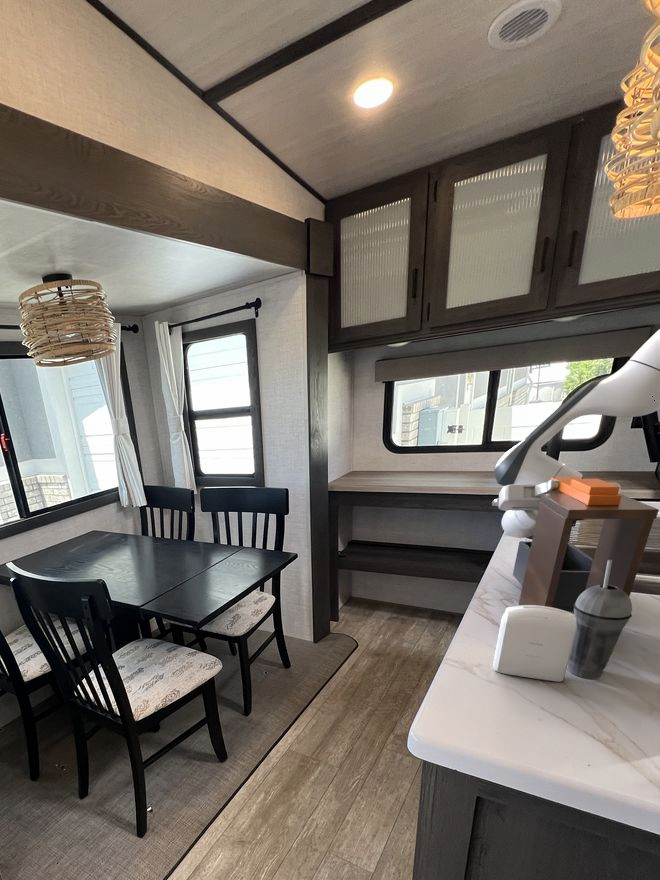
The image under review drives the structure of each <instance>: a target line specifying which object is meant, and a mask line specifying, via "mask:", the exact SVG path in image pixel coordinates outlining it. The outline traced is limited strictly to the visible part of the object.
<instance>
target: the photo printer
mask: <svg viewBox="0 0 660 880" xmlns="http://www.w3.org/2000/svg"><path fill="white" fill-rule="evenodd" d="M498 630H499V631H498V635H497V641H496V647H495V651H494V656H493V657H494V658H493V662H492V668H493V670H494V671H495V672H496V673H499V674H505V675H511V676H517V677H523V678H530V679H537V680H542V681H549V682H560V683H561V682H562V681H563V680H564V679H565V676H566V672H567V670H568V669H567V667H568V661H569V658H570V654H571V650H572V646H573V642H574V638H575V634H576V631H577V623H576V617H575V614H574V613H572V612H571V611H564V610H561V609H557V608H552V607H546V606H536V605H523V606H518V605H515V606H509V607H506V608H505V611H504V613H503V615H502V617H501V619H500V625H499V629H498Z"/></svg>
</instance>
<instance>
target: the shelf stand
mask: <svg viewBox="0 0 660 880" xmlns="http://www.w3.org/2000/svg"><path fill="white" fill-rule="evenodd" d="M618 494H619V493H618ZM619 495H622V497H621V501H620V504H619V505H586V504H585V503H583V502H581V501H579V500H577V499H575V498H573V497H571V496H569V495H567V494H541V497H540V502H541V503H540V507H539V511H538V516H537V521H536V525H535V530H534V535H532V544H531V549H530V553H529V558H528V563H527V567H526V572H525V576H524V581H523V586H522V585H521V591H520V596H519V599H518V604H517V606H523V605H536V606H546V607H552V606H553V601H554V597H555V593H556V589H557V585H558V581H559V577H560V573H561V569H562V565H563V561H564V557H565V553H566V549H567V545H568V542H570V536H571V534H572V533H571V532H572V528H573V524H574V522H575V521H574V519H587V520H595V519H596V520H602V519H603V523H602V528H601V531H600V534H599V538H598V541H597V545H596V549H595V552H594V557H593V558H592V559H593V563H592V567H591V570H590V574H589V578H588V581H587V585H586V589H585V590H587V589H588V588H590V587H593V586H596V585H603V584H604V579H605V573H606V568H607V562H608V560H612V564H611V570H610V575H609V581H608V585H612V586H615V587H618V588H620V589H621V590H623V591H624V592H625V593H626V594H627V595H628V596H629V597H631V593H632V590H633V586H634V584H635V580H636V577H637V574H638V571H639V569H640V565H641V561H642V560H643V559H642V558H643V555H644V552H645V549H646V546H647V543H648V539H649V537H650V533H651V530H652V527H653V525H654V524H653V523H654V520H656V519H657V518H658V514H659V510H660V509H659V508H657V507H653V506H651V505H650V504H646V503H644V502H641V501H639V500H636V499H634V498H631V497H629V496H626V495H624V494H622V493H621V494H619Z"/></svg>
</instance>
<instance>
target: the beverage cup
mask: <svg viewBox="0 0 660 880" xmlns="http://www.w3.org/2000/svg"><path fill="white" fill-rule="evenodd" d="M611 564H612V560H608V562H607V568H606V573H605V579H604V584H603V585H596V586H593V587H590V588H588V589H587V590H585V591H584V592H583V593H581V594H580V596H579V597H578V598H577V600H576V603H575V604H574V611H573V614H575V617H576V623H577V631H576V634H575V638H574V642H573V646H572V650H571V654H570V658H569V661H568V665H567V669H566V670H567V671H568V672H569V673H570V674H572V675H573V676H575V677H579V678H583V679H586V680H587V679H588V680H596V679H600V677H601V676H602V673H603V672H604V670H605V669H606V667H607V665H608V662H609V660H610V658H611V656H612V654H613V651H614V649H615V647H616V645H617V642H618V641H619V638H620V636H621V634H622V631H623V630H624V628H625V627H626V626H627V624H628V622H629V621H630V619H631V618H632V617H633V613H632V612H633V605H632V601H631V598H630V596H628V595H627V594H626V593H625V592H624V591H623V590H621V589H620V588H618V587H615V586H612V585H608V581H609V575H610V570H611Z"/></svg>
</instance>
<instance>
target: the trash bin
mask: <svg viewBox="0 0 660 880" xmlns="http://www.w3.org/2000/svg"><path fill="white" fill-rule="evenodd" d="M531 544H532V541H531V540H530V541H527V540H525V541H523V540H519V541H518V547H517V552H516V556H515V561H514V562H515V563H514V565H513V566H514V567H513V572H512V575H513V577H514V578H515V579H516V580H517V581H518V582H519V584H520V585H521V587H522V586H523V581H524V576H525V572H526V567H527V563H528V558H529V553H530V549H531ZM593 559H594V558H593V557H591V556H590V555H589V554H587V553H585V552H584V551H583V550H582V549H580V548H578V547H577V546H576V545H575V544H574V543H572V542H570V541H568V545H567V549H566V553H565V557H564V561H563V565H562V569H561V573H560V577H559V581H558V585H557V589H556V593H555V597H554V601H553V606H552V608H557V609H561V610H564V611H567V612H574V604H575V603H576V600H577V598H578V597H579V596H580V594H581V593H583V592H584V591H585V589H586V585H587V581H588V578H589V574H590V570H591V567H592V563H593Z"/></svg>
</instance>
